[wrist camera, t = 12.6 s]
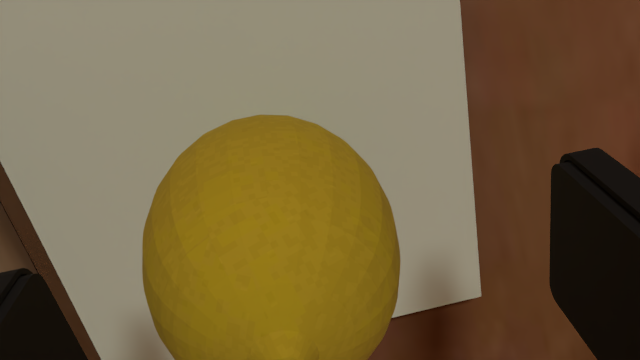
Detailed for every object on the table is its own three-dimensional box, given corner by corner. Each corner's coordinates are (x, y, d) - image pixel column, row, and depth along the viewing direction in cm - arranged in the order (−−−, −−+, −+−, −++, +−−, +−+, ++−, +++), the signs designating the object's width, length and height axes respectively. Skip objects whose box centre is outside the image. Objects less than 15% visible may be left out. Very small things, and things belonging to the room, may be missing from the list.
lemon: (336, 259, 17) (403, 495, 10) (159, 241, 16) (93, 491, 9) (379, 95, 15) (501, 248, 8) (178, 60, 14) (108, 201, 7)
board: (440, -121, 14) (450, -124, 13) (472, 282, 20) (481, 296, 19) (-68, -11, 13) (-86, -7, 13) (119, 367, 19) (114, 384, 18)
